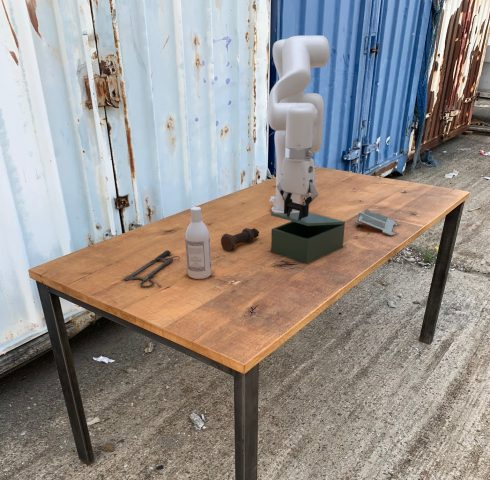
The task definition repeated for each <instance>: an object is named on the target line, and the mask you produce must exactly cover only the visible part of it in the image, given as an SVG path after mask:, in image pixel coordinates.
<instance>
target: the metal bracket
mask: <svg viewBox="0 0 490 480" xmlns="http://www.w3.org/2000/svg"><path fill="white" fill-rule="evenodd" d="M354 223H355V225H356V226H355V227H356V228H358V225H359V224H360V223H362V224H365V225H367V226H370V227H373V228H375V229H378V230H381V231H382V233H383V234H386V235H388V236H394V235H395V234H396V233H395V232H393V229H394V226H398V223H396V221H395V220H393V219H391V218H388V216H386V215H384V214H381V213H379V212H372V211H371V210H369V209H368V208H366V209H365V211H363V210H362V211H361V212H358V215H357V220H355V221H354Z"/></svg>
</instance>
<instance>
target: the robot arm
mask: <svg viewBox="0 0 490 480" xmlns="http://www.w3.org/2000/svg"><path fill="white" fill-rule="evenodd" d="M330 48H331V47H330V43H329V40H328V38H327V37H326V36H325V35H318V34H317V35H293V36H290V37H288V38H282V39H278V40H276V41H275V42H274V43H273V44H272V58H273V63H274V66H275V69H276V73H277V75H278V80H277V81H276V82H275V84H274V85H273V86H272V88H271V90H270V92H269V97H268V102H267V105H268V106H267V108H268V109H267V110H268V111H267V119H268V124H269V127H270V128H271V129H272V130H273V131H275V132H274V138H273V139H274V147H275V165H276V166H275V168H276V169H275V170H276V171H275V196H274V195H272V196H270V199H269V200H268V201H269V203H272V204H273V205H272V207H271V211H272V212H271V213H284V214H287V211H288V208H287V203H288V202H289V201H290V202H294V203H298V204H302V205H301V206H300V218H305V217H307V216H308V213H309V212H310V204H312V202H313V201H314V200H315V199H316V198H317V197H318V196H319V192H318V191H317V188H316V166H315V160H314V158H312V157H314V155H315V154H317V153H318V152H320V150H321V148H322V145H323V131H324V129H323V128H324V115H325V103H324V98H323V97H322V95H321V94H319V93H316V92H306V93H305V91H304V90H305V89H307V88H308V86H309V85H310V83H311V79H312V75H311V74H312V73H311V68H313V69H316V68H317V69H319V68H324V67H326V66H327V64H328V63H329V60H330V55H331V54H330V53H331V52H330V51H331V49H330ZM292 212H299V211H298V210H294V209H291V212H290V213H292Z"/></svg>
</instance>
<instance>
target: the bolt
mask: <svg viewBox="0 0 490 480" xmlns="http://www.w3.org/2000/svg"><path fill="white" fill-rule="evenodd" d="M259 236H260V231H259V230H258V228H257V229H256V228H255V227H253V228H248V227H247V228H246V227H245V228H243V229H242V231H241V232H239V233H236V234H234V235H233V234H229V233H224V234H223V235H222V236H221V238H220V245H221V247H222V248H223V250H224V251H226V252H232V251H234V249H235V247H236V246H237V245H239V244H242V243H246V244H247V243H248V244H250V243H252V242H253V241H254V239H256V238H258V237H259Z"/></svg>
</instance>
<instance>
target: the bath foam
mask: <svg viewBox="0 0 490 480" xmlns="http://www.w3.org/2000/svg"><path fill="white" fill-rule="evenodd" d="M202 217H203V216H202V208H201V207H200V206H192V207H190V222H189V224H188V226H187V228H186V230H185V233H184V234H185V235H184V240H185V252H186V253H185V255H186V267H187V275H188V277H189V278H192V279H193V280H202V279H203V280H205V279H207V278H209V277H210V276H211V275H212V252H211V236H210V232H209V229H208V227H207V225H206V224H205V223H204V221H203V220H202Z"/></svg>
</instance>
